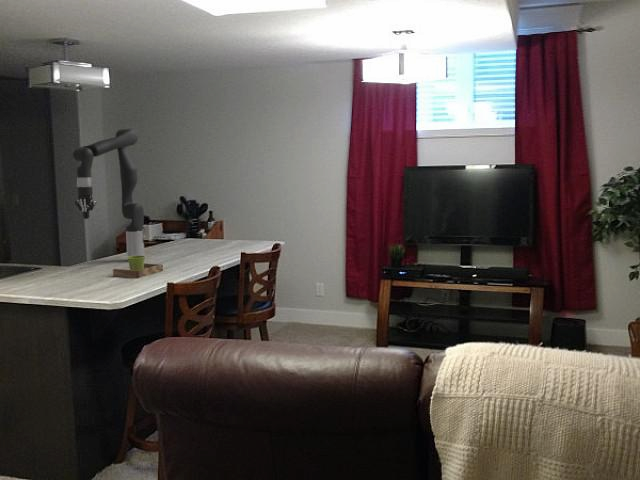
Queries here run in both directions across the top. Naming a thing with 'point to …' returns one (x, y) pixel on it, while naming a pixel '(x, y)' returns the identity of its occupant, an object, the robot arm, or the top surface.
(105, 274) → the top surface
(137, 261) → the plant pot
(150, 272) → the wooden u bracket
